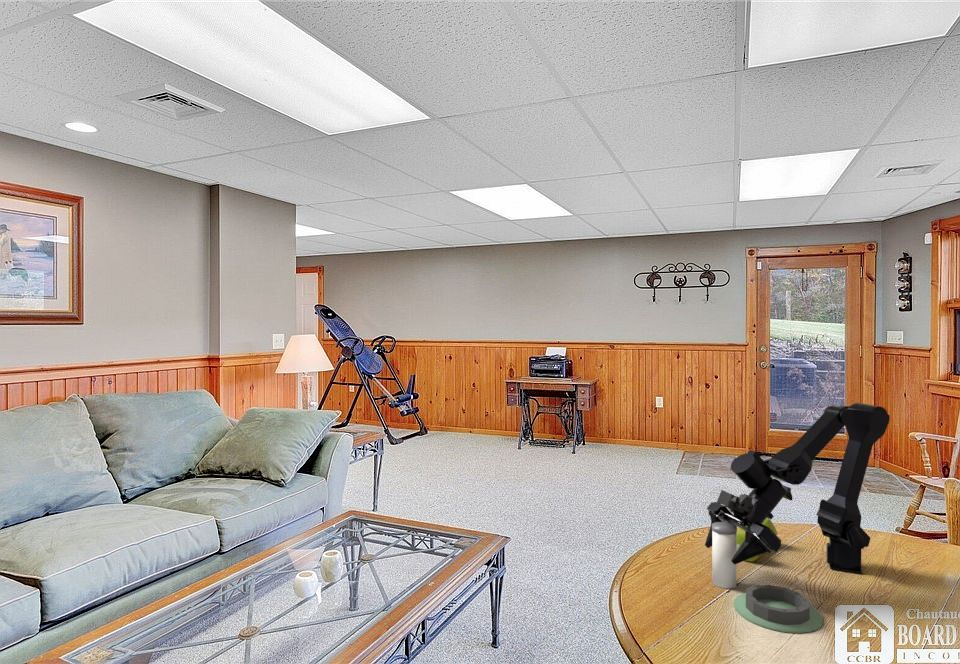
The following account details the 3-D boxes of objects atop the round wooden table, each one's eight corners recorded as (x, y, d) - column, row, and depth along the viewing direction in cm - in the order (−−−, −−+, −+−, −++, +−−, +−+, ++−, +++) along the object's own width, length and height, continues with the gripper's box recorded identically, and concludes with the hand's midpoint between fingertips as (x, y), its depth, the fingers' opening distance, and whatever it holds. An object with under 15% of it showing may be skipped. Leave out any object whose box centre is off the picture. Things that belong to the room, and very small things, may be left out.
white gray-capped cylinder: (737, 581, 133) (737, 524, 133) (736, 590, 128) (736, 531, 128) (713, 576, 135) (712, 520, 135) (710, 586, 131) (710, 528, 130)
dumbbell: (759, 566, 141) (759, 536, 141) (725, 557, 146) (725, 529, 146) (779, 546, 153) (779, 518, 153) (747, 538, 158) (747, 512, 158)
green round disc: (819, 602, 123) (819, 589, 122) (825, 641, 108) (825, 625, 108) (736, 587, 130) (736, 574, 130) (731, 621, 115) (731, 607, 115)
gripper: (713, 468, 141) (672, 517, 139) (770, 490, 123) (724, 547, 121) (741, 497, 143) (702, 547, 141) (801, 523, 125) (756, 581, 123)
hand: (719, 554), depth 131 cm, fingers open, 9 cm apart
